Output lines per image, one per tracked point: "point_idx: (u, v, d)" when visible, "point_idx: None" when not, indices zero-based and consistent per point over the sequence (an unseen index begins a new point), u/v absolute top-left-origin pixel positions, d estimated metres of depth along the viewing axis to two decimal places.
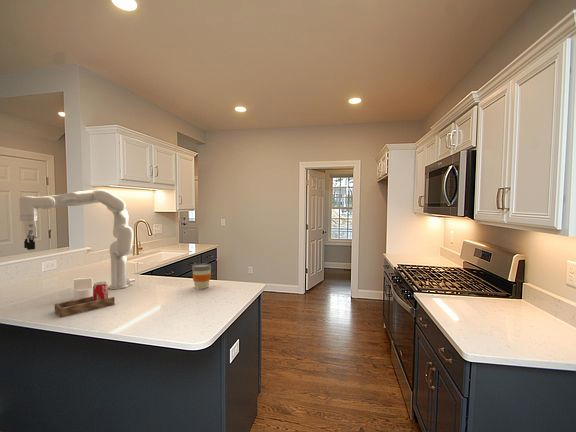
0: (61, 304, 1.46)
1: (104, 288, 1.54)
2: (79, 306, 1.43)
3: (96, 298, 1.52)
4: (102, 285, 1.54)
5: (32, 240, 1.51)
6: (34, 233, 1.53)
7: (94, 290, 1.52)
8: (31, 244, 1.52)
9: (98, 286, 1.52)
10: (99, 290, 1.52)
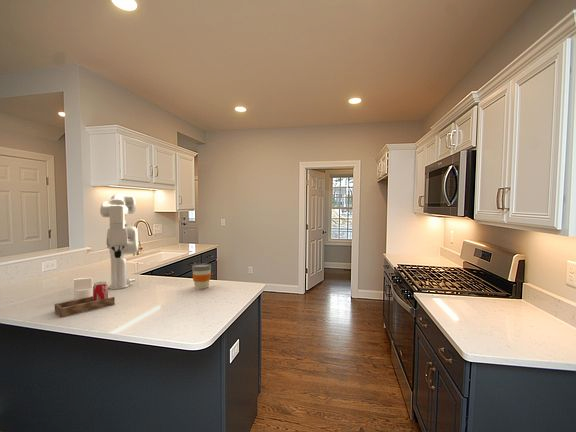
0: (61, 304, 1.46)
1: (104, 288, 1.54)
2: (79, 306, 1.43)
3: (96, 298, 1.52)
4: (102, 285, 1.54)
5: None
6: None
7: (94, 290, 1.52)
8: None
9: (98, 286, 1.52)
10: (99, 290, 1.52)
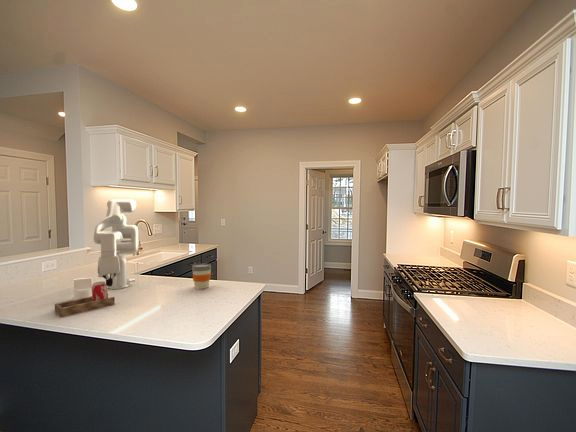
0: (61, 304, 1.46)
1: (103, 288, 1.53)
2: (79, 306, 1.43)
3: (95, 298, 1.52)
4: (101, 285, 1.53)
5: None
6: None
7: (93, 290, 1.52)
8: None
9: (97, 286, 1.52)
10: (98, 290, 1.52)
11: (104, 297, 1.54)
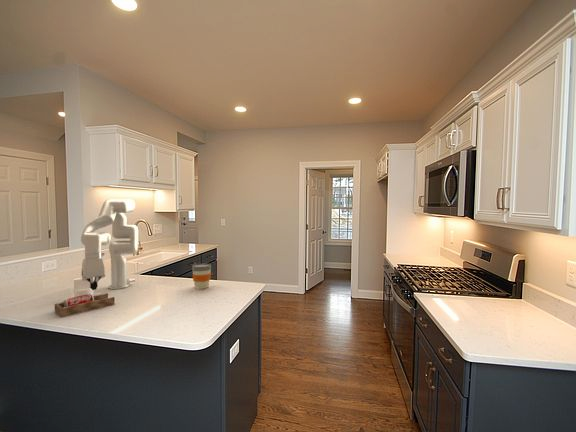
0: (61, 304, 1.46)
1: (73, 302, 1.44)
2: (79, 306, 1.43)
3: None
4: (69, 304, 1.42)
5: None
6: None
7: None
8: None
9: None
10: None
11: (85, 299, 1.48)
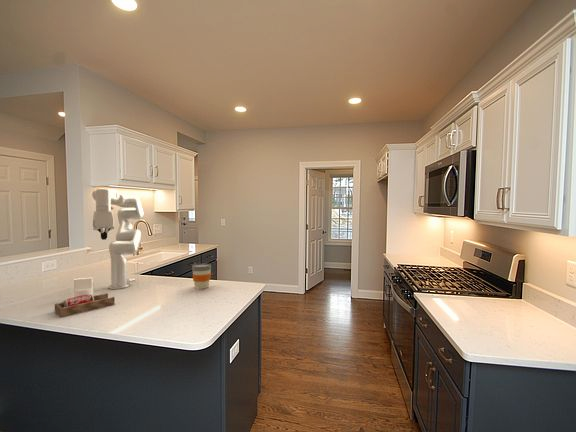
0: (61, 304, 1.46)
1: (73, 302, 1.44)
2: (79, 306, 1.43)
3: None
4: (69, 305, 1.42)
5: None
6: None
7: None
8: None
9: None
10: None
11: (85, 299, 1.48)
